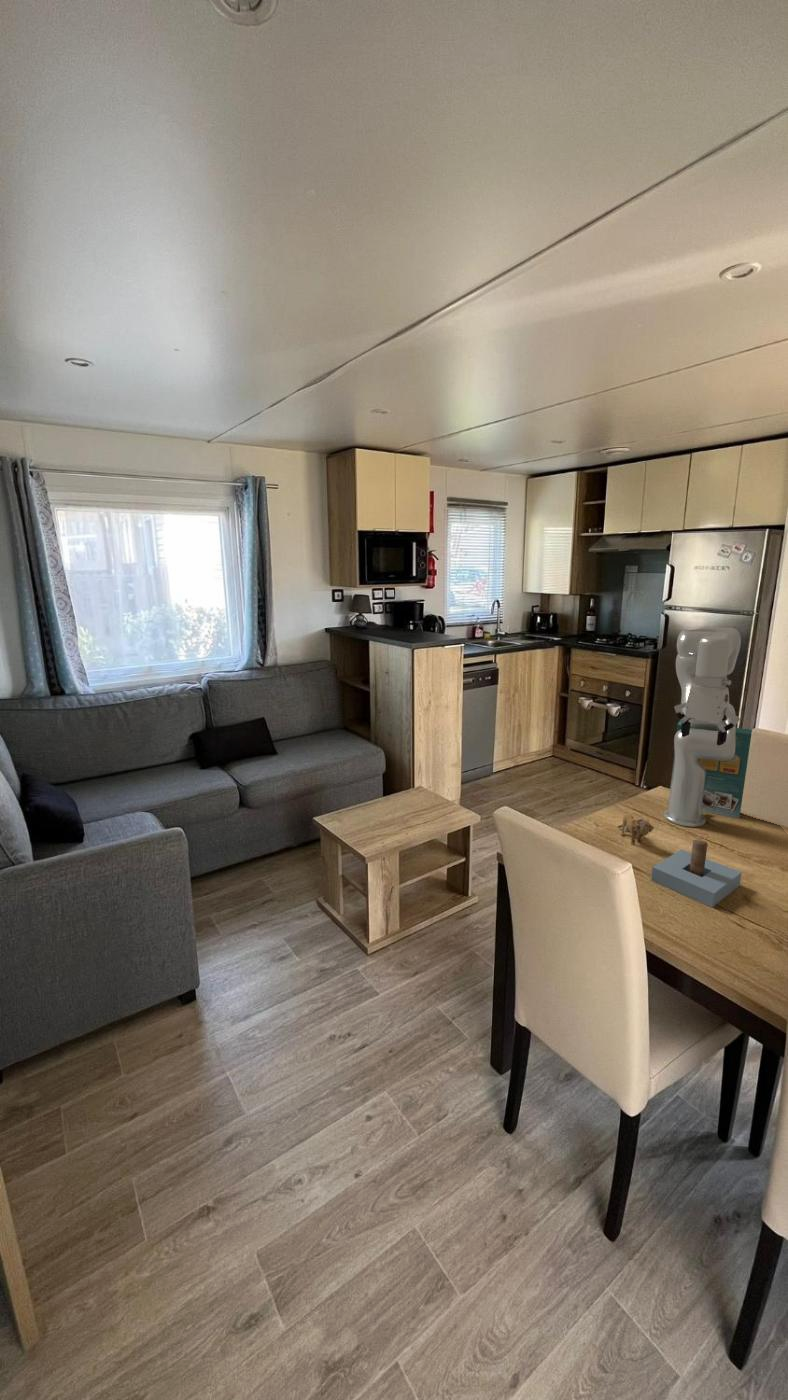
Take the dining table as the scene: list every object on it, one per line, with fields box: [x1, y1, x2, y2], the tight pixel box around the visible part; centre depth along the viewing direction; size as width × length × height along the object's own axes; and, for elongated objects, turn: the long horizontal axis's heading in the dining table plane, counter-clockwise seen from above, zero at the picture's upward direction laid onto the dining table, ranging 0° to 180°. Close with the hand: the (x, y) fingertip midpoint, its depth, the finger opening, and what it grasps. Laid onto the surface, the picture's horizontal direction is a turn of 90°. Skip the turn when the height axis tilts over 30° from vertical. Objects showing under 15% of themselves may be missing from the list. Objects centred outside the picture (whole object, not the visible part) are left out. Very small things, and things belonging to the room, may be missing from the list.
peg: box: [689, 839, 708, 877], centre depth 151 cm, size 3×3×12 cm
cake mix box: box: [668, 720, 753, 819], centre depth 195 cm, size 22×6×30 cm, turn 57°
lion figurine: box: [617, 813, 655, 846], centre depth 176 cm, size 15×5×9 cm, turn 13°
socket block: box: [650, 849, 742, 908], centre depth 152 cm, size 16×16×4 cm
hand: (702, 739), depth 160 cm, fingers open, 9 cm apart
